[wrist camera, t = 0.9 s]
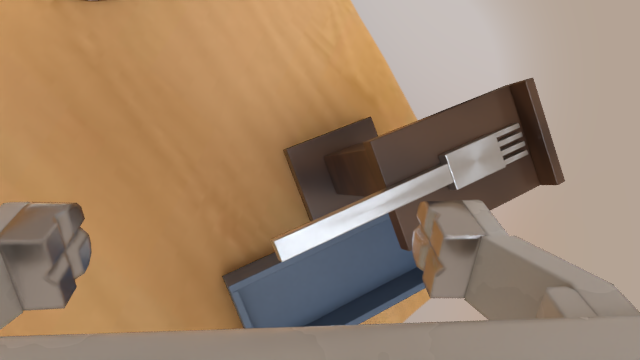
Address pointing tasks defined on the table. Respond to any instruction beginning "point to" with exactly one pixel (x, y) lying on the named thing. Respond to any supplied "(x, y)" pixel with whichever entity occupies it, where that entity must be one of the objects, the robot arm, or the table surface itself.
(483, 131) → the stand
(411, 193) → the fork
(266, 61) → the table surface
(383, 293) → the bin
